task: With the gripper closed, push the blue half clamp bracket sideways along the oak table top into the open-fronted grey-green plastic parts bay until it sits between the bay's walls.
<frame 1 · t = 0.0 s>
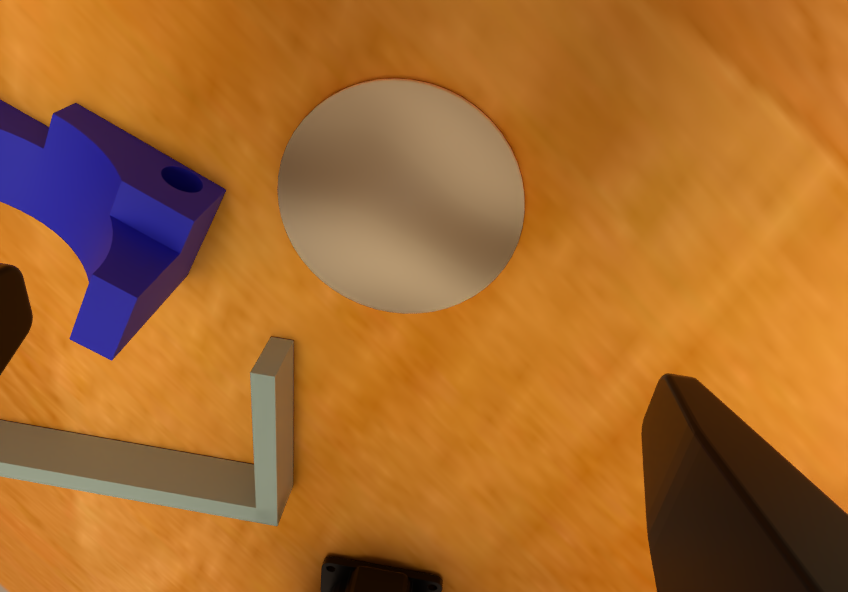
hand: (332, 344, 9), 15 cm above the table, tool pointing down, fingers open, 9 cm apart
blue half clamp bracket: (67, 150, 25), on the table
parts bay: (105, 378, 30), on the table
cork coaster: (400, 204, 24), on the table
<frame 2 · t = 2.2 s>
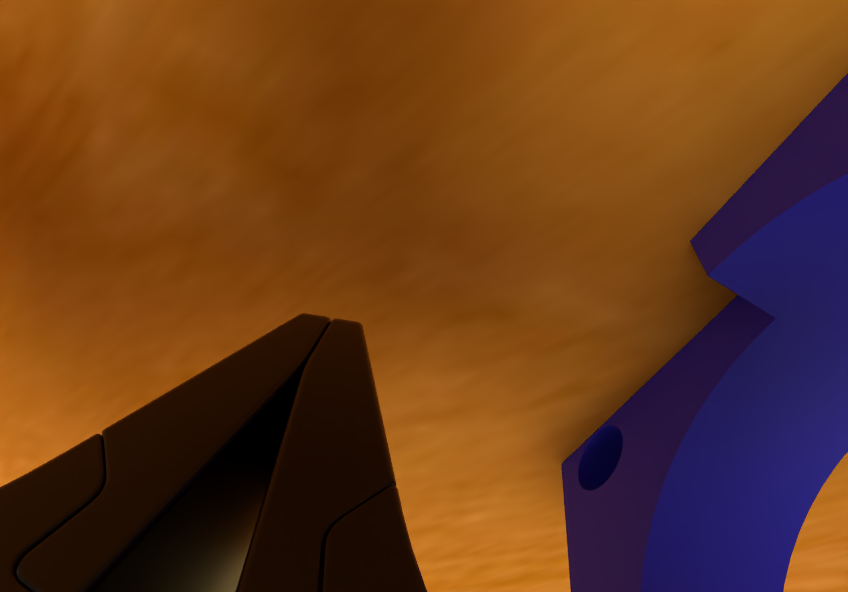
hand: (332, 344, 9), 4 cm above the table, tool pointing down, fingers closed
blue half clamp bracket: (776, 289, 13), on the table
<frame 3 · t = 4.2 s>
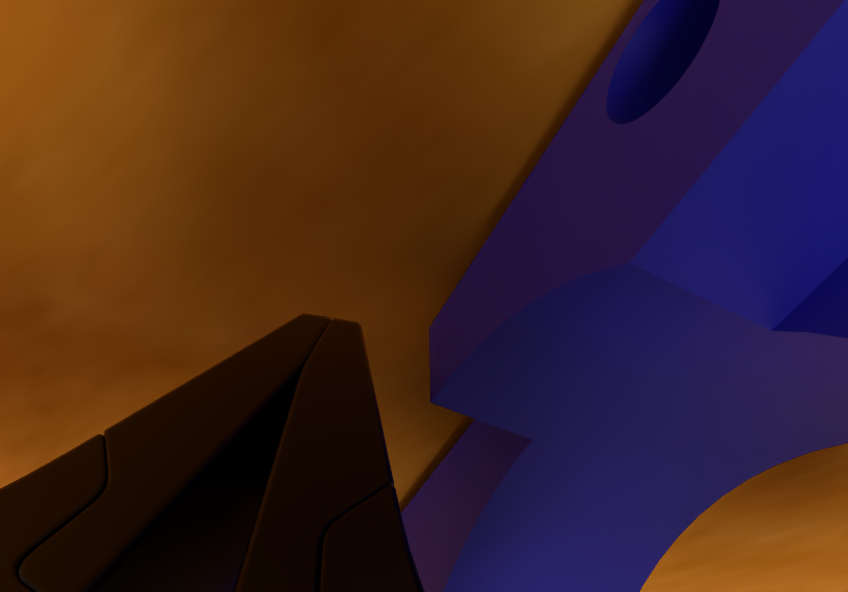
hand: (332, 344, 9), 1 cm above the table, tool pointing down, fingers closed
blue half clamp bracket: (557, 372, 10), on the table, touching gripper
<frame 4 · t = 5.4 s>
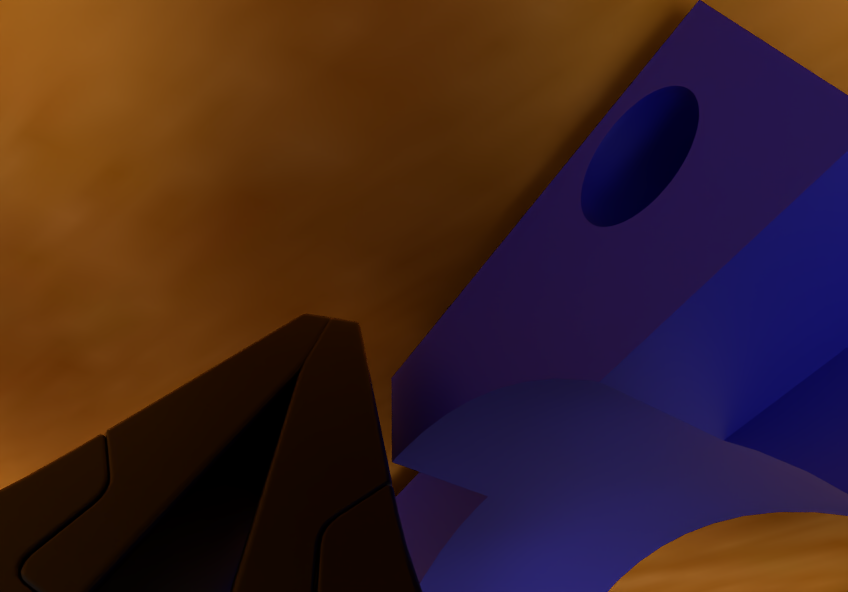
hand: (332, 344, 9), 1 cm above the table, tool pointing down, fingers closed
blue half clamp bracket: (513, 419, 10), on the table, touching gripper
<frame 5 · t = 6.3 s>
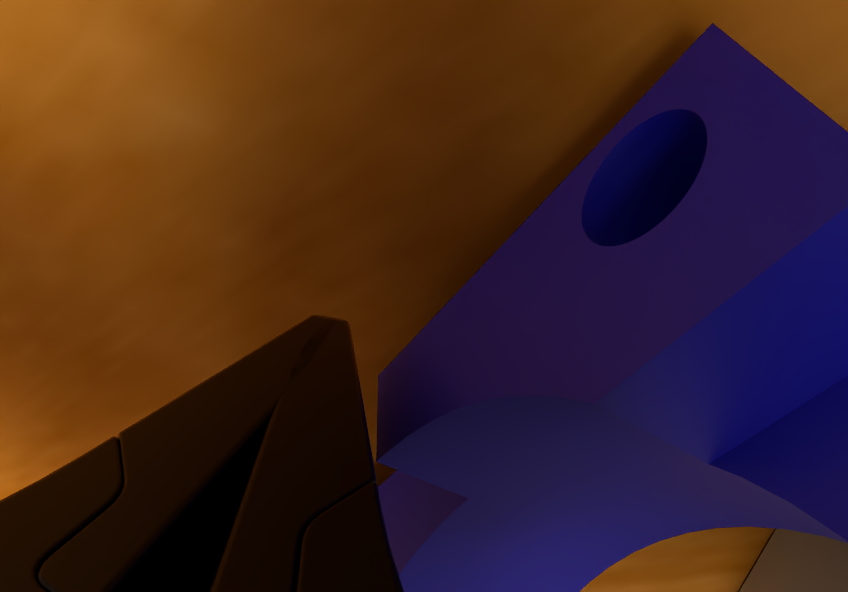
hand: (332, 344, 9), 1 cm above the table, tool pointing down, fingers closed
blue half clamp bracket: (495, 420, 10), on the table, touching gripper, parts bay
parts bay: (584, 337, 10), on the table
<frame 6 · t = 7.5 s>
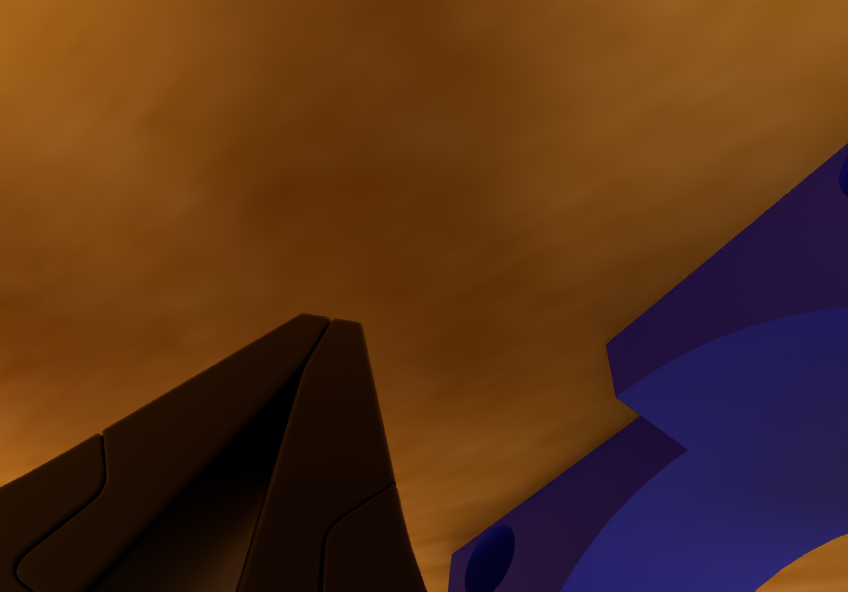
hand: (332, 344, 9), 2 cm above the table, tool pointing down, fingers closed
blue half clamp bracket: (697, 402, 11), on the table
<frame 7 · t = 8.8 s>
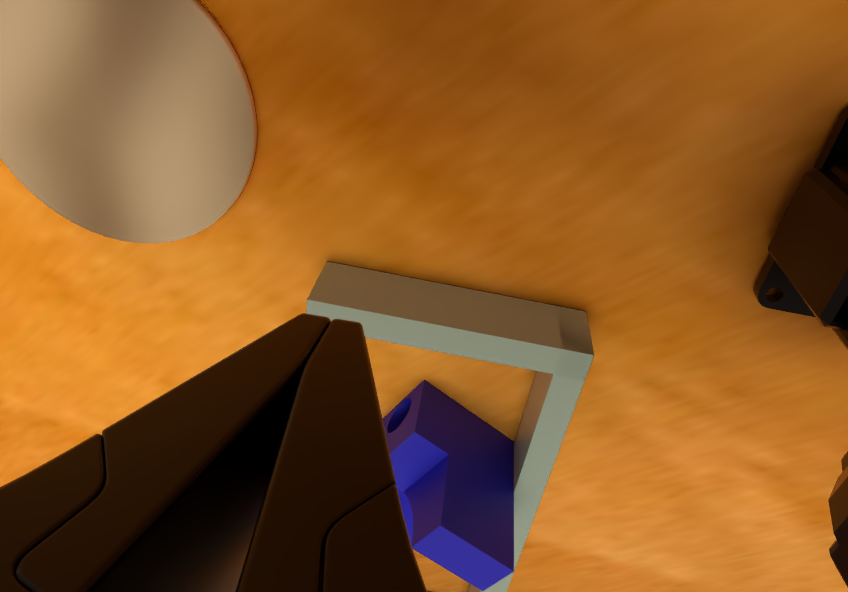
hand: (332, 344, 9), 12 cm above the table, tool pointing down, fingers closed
blue half clamp bracket: (381, 481, 28), on the table
parts bay: (405, 466, 27), on the table
cork coaster: (116, 108, 20), on the table
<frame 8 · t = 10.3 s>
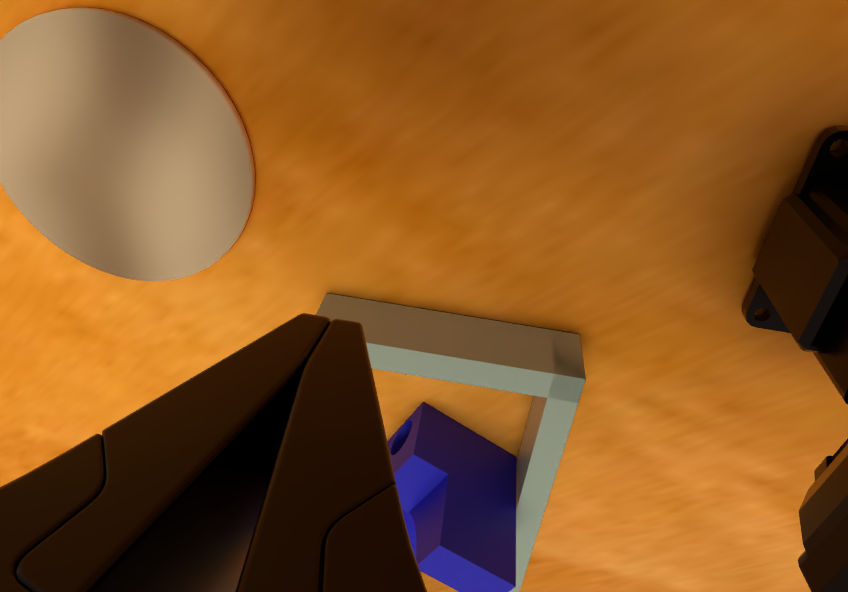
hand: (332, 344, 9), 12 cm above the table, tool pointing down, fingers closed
blue half clamp bracket: (393, 501, 29), on the table
parts bay: (412, 486, 28), on the table
cork coaster: (121, 156, 21), on the table
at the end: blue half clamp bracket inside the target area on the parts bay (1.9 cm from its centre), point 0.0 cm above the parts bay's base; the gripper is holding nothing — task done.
